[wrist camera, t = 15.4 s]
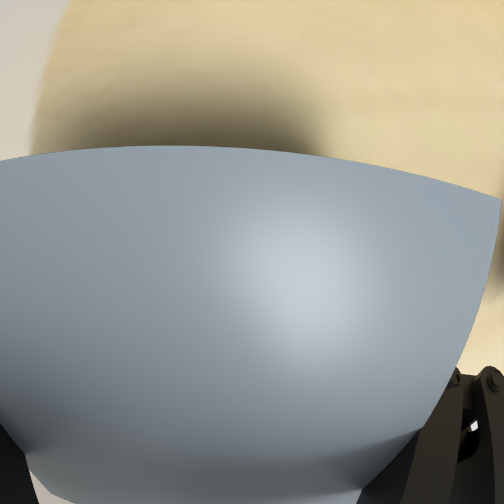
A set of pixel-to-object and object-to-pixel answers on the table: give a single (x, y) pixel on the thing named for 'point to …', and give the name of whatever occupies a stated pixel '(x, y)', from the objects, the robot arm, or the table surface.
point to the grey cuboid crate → (228, 319)
